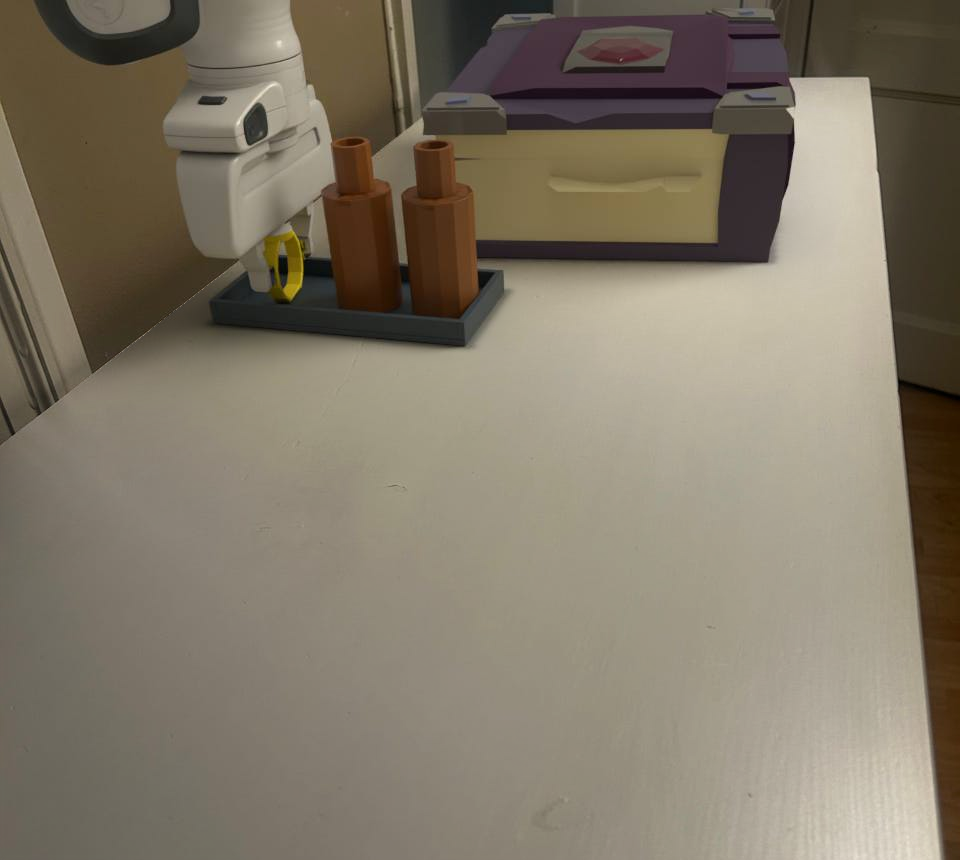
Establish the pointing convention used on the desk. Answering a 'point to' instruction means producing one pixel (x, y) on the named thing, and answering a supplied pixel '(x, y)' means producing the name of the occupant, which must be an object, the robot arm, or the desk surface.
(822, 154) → the desk surface
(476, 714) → the desk surface
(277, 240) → the watch
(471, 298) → the bottle far
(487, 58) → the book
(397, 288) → the bottle mid
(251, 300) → the tray
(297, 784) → the desk surface
